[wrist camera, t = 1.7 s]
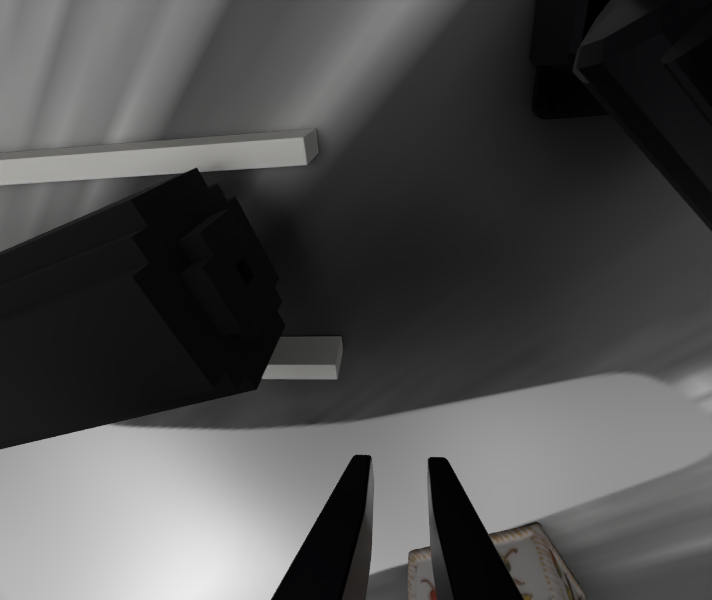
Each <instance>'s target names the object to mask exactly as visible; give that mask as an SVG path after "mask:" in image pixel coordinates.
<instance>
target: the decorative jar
mask: <svg viewBox="0 0 712 600" xmlns="http://www.w3.org/2000/svg"><path fill="white" fill-rule="evenodd" d="M488 535H489V536H490V538H491V540H492V542H493V544H494V546H495V547H496V549H497V551H498V553H499V555H500V557H501V558H502V560H503V562H504V564H505V566H506V568H507V569H508V571H509V573H510V575H511V577H512V578H513V580H514V582H515V584H516V586H517V588H518V589H519V591H520V593H521V595H522V597H523V599H524V600H586V598H585V595H584V593H583V591H582V589H581V588H580V586H579V585H578V583H577V582H576V580H575V579H574V577H573V576H572V574H571V572H570V571H569V570H568V568H567V566H566V565H565V563H564V562H563V560H562V559H561V557H560V555H559V554H558V552H557V551H556V550H555V548H554V547H553V545H552V544H551V542H550V541H549V539H548V538H547V536H546V534H545V533H544V531H543V529H542V528H541V527H540V525H538V524H533V525H530V526H525V527H520V528H516V529H510V530H505V531H500V532H496V533H491V534H488ZM408 560H409V561H408V600H437V595H436V589H435V582H434V576H433V569H432V561H431V547H430V546H429V547H425V548H422V549H415V550H412V551H410V552H409V557H408Z"/></svg>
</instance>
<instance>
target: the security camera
mask: <svg viewBox="0 0 712 600" xmlns="http://www.w3.org/2000/svg"><path fill="white" fill-rule="evenodd" d="M278 279H279V277H278V275H277V274H276V272H275V270H274V268H273V266H272V264H271V262H270V260H269V259H268V257H267V255H266V253H265V251H264V249H263V247H262V245H261V243H260V242H259V240H258V238H257V236H256V234H255V232H254V230H253V228H252V227H251V225H250V223H249V221H248V219H247V217H246V215H245V213H244V212H243V210H242V208H241V206H240V204H239V202H238V200H237V198H236V197H233V198H230V199H228V200H227V199H226V198H225V196H224V194H223V192H222V190H221V188H220V187H219V185H218V183H216V184H214V185H211V186H209V187H208V186H207V184H206V183H205V181H204V179H203V177H202V175H201V174H200V172H199V170H198V168H197V167H196V168H194V169H192V170H190V171H187V172H185V173H183V174H180V175H178V176H176V177H173V178H171V179H169V180H166V181H164V182H162V183H159V184H157V185H155V186H152V187H150V188H148V189H146V190H143V191H141V192H139V193H136V194H134V195H132V196H129V197H127V198H125V199H122V200H120V201H118V202H115V203H113V204H111V205H108V206H106V207H104V208H102V209H99V210H97V211H95V212H92V213H90V214H88V215H85V216H83V217H81V218H78V219H76V220H74V221H71V222H69V223H67V224H64V225H62V226H60V227H57V228H55V229H53V230H51V231H48V232H46V233H44V234H41V235H39V236H37V237H34V238H32V239H30V240H27V241H25V242H23V243H20V244H18V245H16V246H13V247H11V248H9V249H7V250H4V251H2V252H0V449H4V448H8V447H12V446H16V445H21V444H25V443H29V442H33V441H38V440H42V439H47V438H51V437H55V436H59V435H64V434H68V433H72V432H76V431H81V430H85V429H89V428H94V427H98V426H102V425H107V424H111V423H115V422H119V421H124V420H128V419H132V418H136V417H141V416H145V415H149V414H154V413H158V412H162V411H166V410H171V409H175V408H179V407H184V406H188V405H192V404H196V403H201V402H205V401H209V400H214V399H218V398H222V397H226V396H231V395H235V394H239V393H243V392H248V391H252V390H256V389H257V387H258V385H259V383H260V381H261V379H262V376H263V374H264V372H265V370H266V367H267V365H268V363H269V361H270V359H271V356H272V354H273V352H274V350H275V347H276V345H277V343H278V341H279V339H280V336H281V334H282V332H283V330H284V327H285V324H284V322H283V320H282V318H281V317H280V315H279V313H278V311H277V310H278V308H279V306H280V304H281V303H282V300H281V298H280V296H279V295H278V293H277V291H276V289H275V287H274V286H275V284H276V282H277V281H278Z"/></svg>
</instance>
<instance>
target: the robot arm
mask: <svg viewBox="0 0 712 600" xmlns="http://www.w3.org/2000/svg"><path fill="white" fill-rule="evenodd" d="M530 60H531V62H532V63H533V64H534V65H535V66H537V71H536V78H535V86H534V93H533V101H532V111H533V113H534V115H535V116H537V117H538V118H541V119H558V118H571V117H584V116H598V115H611V117H612V118H613V119H614V120H615V121H616V122H617V124H618V125H619V126H620V127H621V128H622V129H623V130H624V132H625V133H626V134H627V135H628V136H629V137H630V138H631V140H632V141H633V142H634V143H635V144H636V145H637V146H638V148H639V149H640V150H641V151H642V152H643V153H644V154H645V156H646V157H647V158H648V159H649V160H650V161H651V162H652V164H653V165H654V166H655V167H656V168H657V169H658V171H659V172H660V173H661V174H662V175H663V176H664V177H665V179H666V180H667V181H668V182H669V183H670V184H671V185H672V187H673V188H674V189H675V190H676V191H677V192H678V193H679V195H680V196H681V197H682V198H683V199H684V200H685V201H686V203H687V204H688V205H689V206H690V207H691V208H692V210H693V211H694V212H695V213H696V214H697V215H698V216H699V218H700V219H701V220H702V221H703V222H704V223H705V224H706V226H707V227H708V228H709V229H710V230H711V231H712V0H537V2H536V10H535V18H534V26H533V34H532V42H531V50H530ZM547 98H551V99H552V106H551V108H550V109H549V110H547V111H543V110H542V103H543V101H544V100H545V99H547ZM373 494H374V477H373V466H372V458H371V456H370V455H355V456H353V458H352V459H351V461H350V462H349V464H348V466H347V468H346V470H345V471H344V473H343V475H342V476H341V478H340V480H339V482H338V483H337V485H336V487H335V489H334V490H333V492H332V494H331V496H330V497H329V499H328V501H327V503H326V504H325V506H324V508H323V510H322V512H321V513H320V515H319V517H318V518H317V520H316V522H315V524H314V525H313V527H312V529H311V531H310V532H309V534H308V536H307V538H306V539H305V541H304V543H303V545H302V547H301V548H300V550H299V552H298V554H297V555H296V557H295V559H294V560H293V562H292V564H291V566H290V567H289V569H288V571H287V573H286V575H285V576H284V578H283V580H282V581H281V583H280V585H279V587H278V588H277V590H276V592H275V594H274V595H273V597H272V599H271V600H365V598H366V591H367V584H368V577H369V570H370V561H371V550H372V524H373V522H372V521H373ZM428 503H429V504H428V505H429V525H430V547H431V561H432V569H433V576H434V582H435V589H436V595H437V600H524V599H523V597H522V595H521V593H520V591H519V589H518V588H517V586H516V584H515V582H514V580H513V578H512V577H511V575H510V573H509V571H508V569H507V568H506V566H505V564H504V562H503V560H502V558H501V557H500V555H499V553H498V551H497V549H496V547H495V546H494V544H493V542H492V540H491V538H490V536H489V535H488V533H487V531H486V529H485V527H484V526H483V524H482V522H481V520H480V518H479V516H478V515H477V513H476V511H475V509H474V507H473V506H472V504H471V502H470V500H469V498H468V496H467V495H466V493H465V491H464V489H463V487H462V485H461V484H460V482H459V480H458V478H457V476H456V474H455V473H454V471H453V469H452V467H451V465H450V463H449V462H448V460H447V459H446V458H444V457H430V458H429V459H428Z"/></svg>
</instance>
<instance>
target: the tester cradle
mask: <svg viewBox="0 0 712 600" xmlns="http://www.w3.org/2000/svg"><path fill="white" fill-rule="evenodd" d="M318 153H319V150H318V142H317V134H316V128H315V129H302V130H289V131H276V132H264V133H251V134H238V135H225V136H212V137H199V138H187V139H174V140H161V141H148V142H135V143H122V144H109V145H97V146H84V147H71V148H58V149H45V150H32V151H19V152H7V153H0V185H11V184H26V183H41V182H56V181H72V180H87V179H102V178H117V177H133V176H148V175H163V174H178V173H185V172H187V171H190V170H192V169H194V168H196V167H197V168H198V170H199V172H209V171H224V170H239V169H254V168H270V167H285V166H300V165H308V164H309V163H310V162H311V161H312V159H313V158H314V157H315V156H316V155H317V154H318ZM342 354H343V343H342V336H311V337H280V339H279V341H278V343H277V345H276V347H275V350H274V352H273V354H272V356H271V359H270V361H269V363H268V365H267V367H266V370H265V372H264V374H263V376H262V379H338V374H339V369H340V364H341V359H342Z"/></svg>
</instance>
